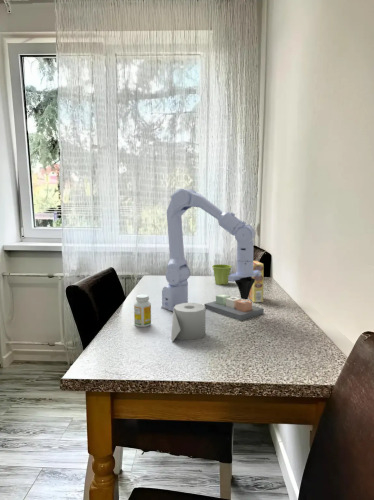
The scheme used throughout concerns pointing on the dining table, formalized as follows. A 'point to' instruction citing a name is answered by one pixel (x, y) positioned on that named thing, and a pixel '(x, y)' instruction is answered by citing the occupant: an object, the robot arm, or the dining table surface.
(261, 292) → the candy box
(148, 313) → the supplement bottle
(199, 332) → the toilet tissue
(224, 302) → the key sage
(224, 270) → the plant pot
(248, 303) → the key peach
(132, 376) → the dining table surface
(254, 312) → the keypad
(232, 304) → the key ivory
